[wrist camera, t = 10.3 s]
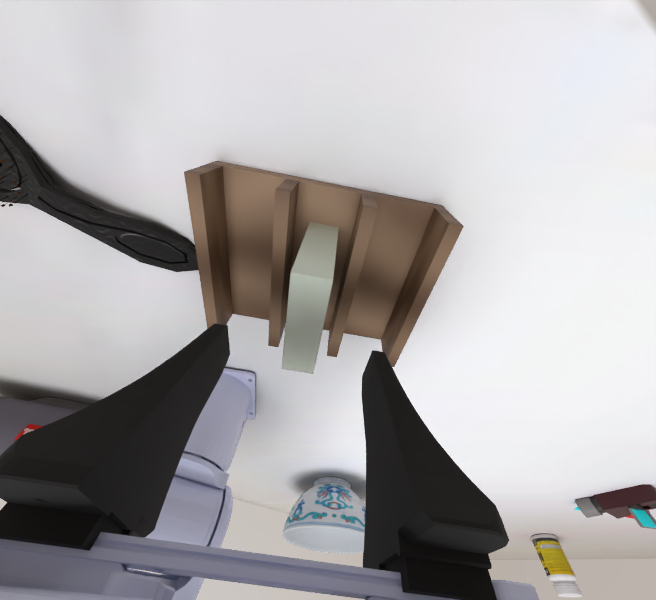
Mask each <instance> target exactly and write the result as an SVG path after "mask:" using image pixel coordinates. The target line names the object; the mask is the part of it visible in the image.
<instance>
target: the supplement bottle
mask: <svg viewBox="0 0 656 600" xmlns="http://www.w3.org/2000/svg"><path fill="white" fill-rule="evenodd" d="M532 541H533V543H534V546H535V548H536V550H537V553H538V555H539V558H540V560H541V562H542V564H543V567H544V569H545V571H546V574H547V576H548V578H549V579H550V580H551V581H552V582H554V588H555V590H556V592H557V594H558V596H560V597H571V598H573V597H582V596H583V595H582V593H581V591H580V589H579V587H578V585H577V584H575V582H576V580H577V579H576V576H575V574H574V572H573V570H572V568H571V566H570V564H569V562H568V560H567V557H566V555H565V553H564V551H563V549H562V547H561V545H560V543H559V541H558V539H557V537H556V536H554V535H552V534H538V535H534V536H532Z"/></svg>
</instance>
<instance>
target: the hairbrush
mask: <svg viewBox="0 0 656 600" xmlns="http://www.w3.org/2000/svg"><path fill="white" fill-rule="evenodd" d="M0 116H1V115H0ZM1 117H2V116H1ZM1 117H0V188H1V189H0V201H2V202H11V203H22V204H30V205H32V206H34V207H36V208H38V209H40V210H42V211H44V212H46V213H48V214H49V215H51V216H53V217H55V218H57V219H59V220H61V221H63V222H65V223H67V224H69V225H71V226H73V227H74V228H76V229H78V230H80V231H82V232H84V233H86V234H88V235H90V236H92V237H94V238H96V239H98V240H100V241H101V242H103V243H105V244H107V245H109V246H111V247H113V248H115V249H117V250H119V251H120V252H122V253H124V254H126V255H128V256H130V257H132V258H134V259H136V260H138V261H139V262H142V263H146V264H150V265H153V266H157V267H161V268H164V269H168V270H172V271H175V272H181V271H193V270H199V268H198V261H197V254H196V249H195V248H194V247H192V246H191V245H193V246H195V245H194V244H193V243H192V242H191V241H189V240H188V239H187V238H185V237H182V236H180V235H177V234H175V233H173V232H170V231H168V230H166V229H163V228H161V227H159V226H156V225H154V224H151V223H147V222H143V221H140V220H136V219H133V218H129V217H126V216H122V215H119V214H115V213H111V212H108V211H106V210H104V209H102V208H99V207H97V206H95V205H93V204H91V203H89V202H87V201H85V200H83V199H80V198H78V197H76V196H74V195H72V194H70V193H68V192H66V191H63V190H61V189H59V188H57V187H56V186H55V185H54V183H53V182H52V181H51V179H50V178H49V176H48V175H47V173H46V172H45V170H44V169H43V167H42V166H41V164H40V163H39V161H38V160H37V158H36V157H35V155H34V154H33V153H32V151H31V150H30V148H29V147H28V146H27V144H26V143H25V141H24V140H23V139H22V137H21V136H20V135H19V134H18V133H17V131H16V130H15V129H14V128H13V127H12V126H11V125H10V123H9V122H8V121H6V120H5V119H4V118H3V117H2V118H3V119H4V120H5V121H6V122H7V123H8V124H9V125H10V126H11V128H12V129H13V131H14V132H15V134H16V135H17V136H18V137H17V136H16V135H15V134H14V133H13V132H12V130H11V129H10V128H9V127H8V126H7V124H6V123H5V122H4V121H3V120H2V118H1ZM18 138H19V139H20V140H19V139H18ZM18 187H21V189H20V190H18V191H17V190H12V191H10V190H11V189H14V188H18ZM5 189H9V190H5ZM6 204H7V203H6ZM1 206H2V207H4V206H6V205H5V204H3V205H1ZM9 206H13V205H12V204H9ZM189 243H190V244H191V245H190V244H189ZM187 258H188V260H187ZM181 261H182V262H181Z"/></svg>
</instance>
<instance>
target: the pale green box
mask: <svg viewBox="0 0 656 600" xmlns="http://www.w3.org/2000/svg"><path fill="white" fill-rule="evenodd" d="M338 229H339V227H335V226H330V225H325V224H319V223H314V222H310V223H309V226H308V228H307V231H306V234H305V236H304V239H303V241H302V244H301V247H300V249H299V252H298V254H297V257H296V260H295V262H294V265H293V267H292V270H291V274H290V285H289V295H288V306H287V317H286V327H285V338H284V349H283V359H282V369H287V370H293V371H299V372H305V373H311V374H313V373H314V368H315V363H316V359H317V354H318V349H319V344H320V340H321V335H322V330H323V326H324V321H325V316H326V311H327V307H328V302H329V297H330V292H331V288H332V283H333V276H334V267H335V258H336V248H337V239H338Z"/></svg>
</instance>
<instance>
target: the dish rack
mask: <svg viewBox="0 0 656 600" xmlns="http://www.w3.org/2000/svg"><path fill="white" fill-rule="evenodd" d="M184 174H185V181H186V188H187V194H188V201H189V208H190V214H191V221H192V228H193V234H194V241H195V248H196V254H197V261H198V268H199V274H200V281H201V288H202V294H203V301H204V308H205V314H206V321H207V328H209V327H211V326H212V325H213V324H215V323H216V324H222V325H226V324H227V322H228V321H229V319H230V317H231V316H232V314H238V315H243V316H249V317H255V318H261V319H266V320H269V343H268V346H274V347H278V346H279V343H280V340H281V337H282V334H283V330H284V327H285V324H286V317H287V306H288V295H289V285H290V274H291V270H292V267H293V265H294V262H295V260H296V257H297V254H298V252H299V249H300V247H301V244H302V241H303V239H304V236H305V234H306V231H307V228H308V226H309V223H310V222H314V223H319V224H325V225H330V226H335V227H339V229H338V239H337V248H336V258H335V267H334V276H333V283H332V288H331V292H330V297H329V302H328V307H327V311H326V316H325V321H324V326H323V329H324V330H329V340H328V351H327V356H333V357H337V354H338V351H339V347H340V343H341V340H342V336H343V333H347V334H353V335H358V336H364V337H370V338H376V339H381V343H382V350H383V352H385V354H386V356H387V358H388V360H389V362H390V364H391V366H392V367H394V366H395V364H396V362H397V360H398V358H399V356H400V354H401V352H402V350H403V348H404V346H405V344H406V342H407V340H408V338H409V336H410V334H411V332H412V330H413V328H414V326H415V324H416V322H417V319H418V317H419V315H420V313H421V311H422V309H423V307H424V305H425V303H426V301H427V299H428V297H429V295H430V293H431V291H432V289H433V287H434V285H435V283H436V281H437V279H438V277H439V275H440V273H441V271H442V269H443V267H444V265H445V263H446V261H447V259H448V257H449V255H450V253H451V251H452V249H453V247H454V245H455V243H456V241H457V239H458V237H459V234H460V232H461V230H462V228H463V225H462V224H461V223H460V222H459V221H457V220H456V219H455V218H454V217H453V216H452V215H451V214H450V213H449V212H448V211H447V210H446V209H445V208H444V207H443V206H441V205H436V204H431V203H426V202H421V201H416V200H411V199H406V198H401V197H396V196H391V195H386V194H381V193H376V192H371V191H365V190H360V189H355V188H350V187H345V186H340V185H335V184H330V183H325V182H320V181H315V180H310V179H305V178H300V177H295V176H290V175H284V174H279V173H274V172H269V171H264V170H259V169H254V168H249V167H244V166H239V165H234V164H229V163H224V162H219V161H215V162H212V163H209V164H206V165H203V166H200V167H197V168H194V169H191V170H188V171H185V172H184Z"/></svg>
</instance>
